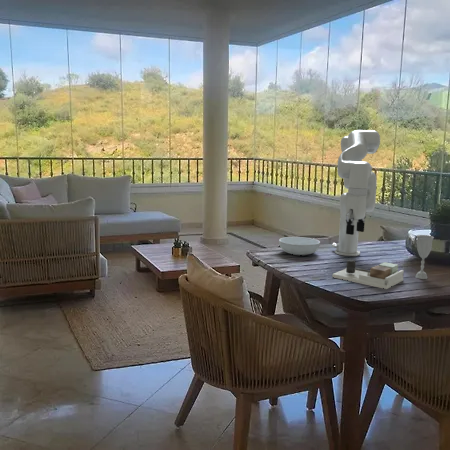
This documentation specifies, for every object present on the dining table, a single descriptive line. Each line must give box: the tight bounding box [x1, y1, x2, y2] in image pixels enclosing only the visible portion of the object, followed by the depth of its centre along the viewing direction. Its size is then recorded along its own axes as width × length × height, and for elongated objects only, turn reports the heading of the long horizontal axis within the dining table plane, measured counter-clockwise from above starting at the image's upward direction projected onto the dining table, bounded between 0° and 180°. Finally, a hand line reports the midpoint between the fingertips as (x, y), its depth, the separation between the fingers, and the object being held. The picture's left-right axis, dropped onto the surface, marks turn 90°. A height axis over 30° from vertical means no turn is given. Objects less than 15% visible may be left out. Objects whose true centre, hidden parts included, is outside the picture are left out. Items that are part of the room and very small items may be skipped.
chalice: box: [415, 234, 435, 280], centre depth 214 cm, size 7×7×18 cm
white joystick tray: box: [332, 261, 405, 290], centre depth 211 cm, size 24×17×7 cm
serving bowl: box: [278, 236, 321, 256], centre depth 255 cm, size 21×21×7 cm
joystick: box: [345, 259, 391, 279], centre depth 207 cm, size 18×6×6 cm, turn 50°
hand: (355, 232), depth 210 cm, fingers open, 9 cm apart
